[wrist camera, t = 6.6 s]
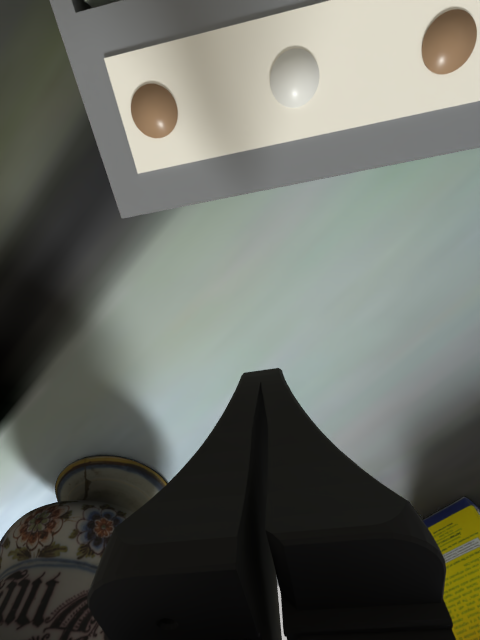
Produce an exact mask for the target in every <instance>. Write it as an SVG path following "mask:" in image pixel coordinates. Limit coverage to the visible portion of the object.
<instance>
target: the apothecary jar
mask: <svg viewBox="0 0 480 640" xmlns="http://www.w3.org/2000/svg"><path fill="white" fill-rule="evenodd" d="M166 485H167V483H166V482H165V481H164V479H163V478H162V477H161V476H160V475H159V474H157V473H156V472H155V471H153V470H152V469H150V468H149V467H147V466H145V465H143V464H141V463H138V462H136V461H133V460H130V459H127V458H122V457H116V456H92V457H87V458H83V459H80V460H78V461H75V462H73V463H72V464H70V465H68V466H67V467H66V468H65V469H64V470H63V471H62V472H61V473H60V475H59V476H58V479H57V481H56V486H55V492H56V497H57V501H58V502H56V503H52V504H48V505H45V506H42V507H39V508H37V509H34V510H32V511H30V512H28V513H27V514H25V515H24V516H22V517H21V518H20V519H19V520H17V521H16V522H15V523H14V524H13V525H12V526H11V527H10V528H9V530H8V531H7V532H6V533H5V535H4V536H3V538H2V539H1V541H0V640H109V638H108V637H107V635H106V634H105V633H104V631H103V630H102V628H101V627H100V626H99V624H98V623H97V621H96V620H95V619H94V617H93V615H92V613H91V611H90V609H89V607H88V604H87V594H88V592H89V589H90V586H91V584H92V581H93V578H94V576H95V573H96V570H97V568H98V565H99V562H100V560H101V557H102V555H103V552H104V550H105V547H106V545H107V543H108V541H109V539H110V537H111V535H112V533H113V531H114V528H115V527H116V526H117V525H119V524H120V523H121V522H123V521H124V520H125V519H127V518H128V517H129V516H130V515H132V514H133V513H134V512H135V511H137V510H138V509H139V508H140V507H142V506H143V505H144V504H145V503H147V502H148V501H149V500H150V499H151V498H152V497H154V496H155V495H156V494H157V493H158V492H159V491H160V490H161V489H162V488H163V487H165V486H166Z"/></svg>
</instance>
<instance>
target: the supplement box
mask: <svg viewBox="0 0 480 640" xmlns="http://www.w3.org/2000/svg"><path fill="white" fill-rule="evenodd" d="M423 522H424V523H425V525H426V526H427V528H428V529H429V531H430V533H431V534H432V536H433V538H434V539H435V541H436V543H437V545H438V546H439V548H440V550H441V553H442V555H443V557H444V559H445V564H446V577H445V586H444V594H443V600H444V602H445V604H446V607H447V609H448V611H449V614H450V616H451V618H452V622H453V628H452V631H453V633H454V636H455V638H456V640H480V509H479V508H478V507H477V506H476V505H475V504H474V503H473V502H472V501H471V500H469V499H468V498H466V497H462V498H461V499H459V500H457V501H456V502H454V503H452V504H451V505H449V506H447V507H445V508H444V509H442V510H440V511H438V512H436V513H434V514H433V515H431V516H429V517H428V518H426V519H424V520H423Z"/></svg>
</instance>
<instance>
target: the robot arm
mask: <svg viewBox="0 0 480 640" xmlns="http://www.w3.org/2000/svg"><path fill="white" fill-rule="evenodd" d="M276 575H277V578H276ZM445 577H446V564H445V559H444V557H443V555H442V553H441V550H440V548H439V546H438V545H437V543H436V541H435V539H434V538H433V536H432V534H431V533H430V531H429V529H428V528H427V526H426V525H425V523H424V522H423V520H422V519H421V517H420V516H419V515H418V513H417V512H416V511H415V509H414V508H413V506H412V505H411V504H410V502H409V501H407V500H405V499H404V498H402V497H401V496H399V495H398V494H396V493H395V492H393V491H392V490H390V489H389V488H387V487H386V486H384V485H383V484H381V483H380V482H378V481H377V480H376V479H375V478H373V477H372V476H371V475H369V474H368V473H367V472H365V471H364V470H363V469H361V468H360V467H359V466H358V465H357V464H355V463H354V462H353V461H352V460H351V459H350V458H348V457H347V456H346V455H345V454H344V453H343V452H341V451H340V450H339V449H338V448H337V447H336V446H335V445H334V444H333V443H332V442H331V441H330V440H329V439H328V438H327V437H326V436H325V435H324V434H323V433H322V432H321V431H320V429H319V428H318V427H317V426H316V425H315V424H314V423H313V421H312V420H311V419H310V418H309V416H308V415H307V414H306V413H305V411H304V410H303V408H302V407H301V406H300V404H299V403H298V401H297V400H296V398H295V397H294V395H293V394H292V392H291V390H290V388H289V387H288V385H287V383H286V381H285V378H284V376H283V373H282V370H281V369H279V368H276V369H268V370H261V371H254V372H247V373H244V374H243V375H242V376H241V379H240V381H239V384H238V386H237V388H236V390H235V392H234V394H233V396H232V398H231V400H230V402H229V404H228V406H227V407H226V409H225V411H224V413H223V415H222V416H221V418H220V419H219V421H218V423H217V424H216V426H215V427H214V429H213V430H212V432H211V433H210V435H209V436H208V438H207V439H206V440H205V442H204V443H203V444H202V446H201V447H200V448H199V450H198V451H197V452H196V453H195V455H194V456H193V457H192V458H191V459H190V460H189V461H188V463H187V464H186V465H185V466H184V467H183V468H182V469H181V470H180V472H179V473H178V474H177V475H176V476H175V477H174V478H173V479H172V480H171V481H170V482H169V483H168V484H167V485H166V486H165V487H163V488H162V489H161V490H160V491H159V492H158V493H157V494H156V495H155V496H154V497H152V498H151V499H150V500H149V501H148V502H147V503H145V504H144V505H143V506H142V507H140V508H139V509H138V510H137V511H135V512H134V513H133V514H132V515H130V516H129V517H128V518H127V519H125V520H124V521H123V522H121V523H120V524H119V525H117V526H116V527H115V528H114V531H113V533H112V535H111V537H110V539H109V541H108V543H107V545H106V547H105V550H104V552H103V555H102V557H101V560H100V562H99V565H98V568H97V570H96V573H95V576H94V578H93V581H92V584H91V586H90V589H89V592H88V594H87V604H88V607H89V609H90V611H91V613H92V615H93V617H94V619H95V620H96V621H97V623H98V624H99V626H100V627H101V628H102V630H103V631H104V633H105V634H106V635H107V637H108V638H109V640H282V636H281V625H280V614H279V602H278V592H277V591H278V590H277V579H278V583H279V587H280V591H281V598H282V599H281V601H282V615H283V629H284V635H285V636H286V637H287V640H456V638H455V636H454V633H453V631H452V628H453V622H452V618H451V616H450V614H449V611H448V609H447V607H446V604H445V602H444V600H443V594H444V586H445Z"/></svg>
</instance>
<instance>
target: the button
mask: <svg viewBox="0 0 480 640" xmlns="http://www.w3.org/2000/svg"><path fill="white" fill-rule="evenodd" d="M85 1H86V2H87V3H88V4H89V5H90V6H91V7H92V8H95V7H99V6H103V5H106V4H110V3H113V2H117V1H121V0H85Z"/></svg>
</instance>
